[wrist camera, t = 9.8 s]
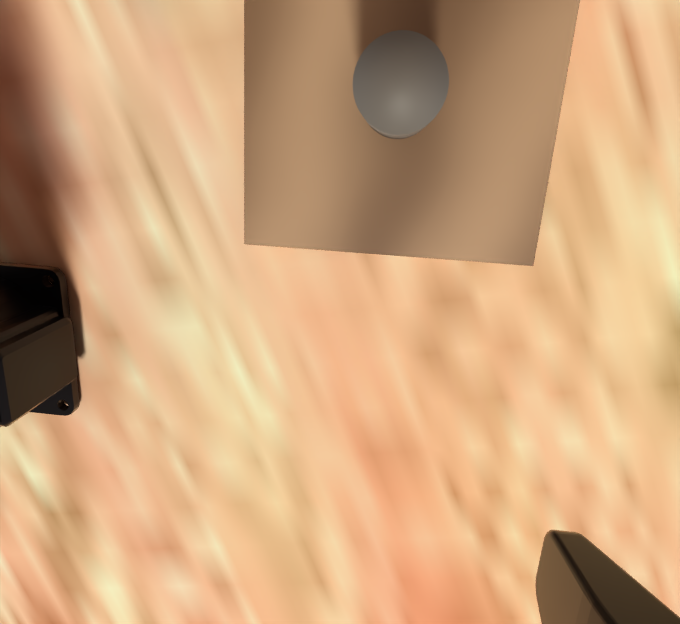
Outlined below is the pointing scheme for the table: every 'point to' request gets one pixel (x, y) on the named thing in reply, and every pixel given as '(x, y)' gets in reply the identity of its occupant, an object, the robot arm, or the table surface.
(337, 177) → the stake board
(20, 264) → the robot arm
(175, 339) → the table surface
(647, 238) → the table surface
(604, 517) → the table surface
